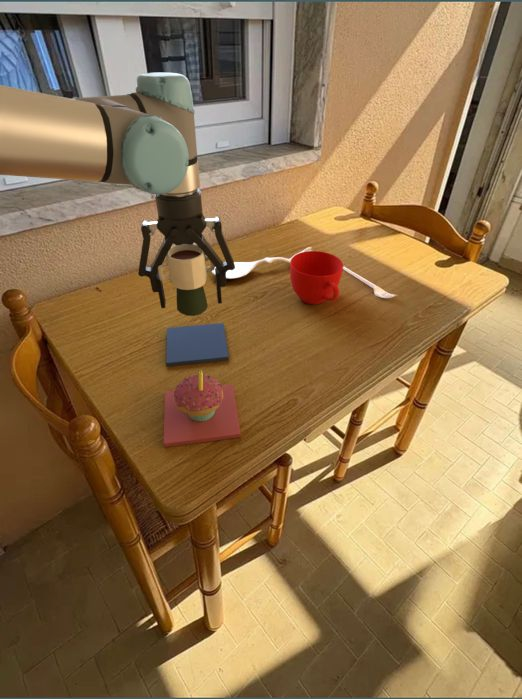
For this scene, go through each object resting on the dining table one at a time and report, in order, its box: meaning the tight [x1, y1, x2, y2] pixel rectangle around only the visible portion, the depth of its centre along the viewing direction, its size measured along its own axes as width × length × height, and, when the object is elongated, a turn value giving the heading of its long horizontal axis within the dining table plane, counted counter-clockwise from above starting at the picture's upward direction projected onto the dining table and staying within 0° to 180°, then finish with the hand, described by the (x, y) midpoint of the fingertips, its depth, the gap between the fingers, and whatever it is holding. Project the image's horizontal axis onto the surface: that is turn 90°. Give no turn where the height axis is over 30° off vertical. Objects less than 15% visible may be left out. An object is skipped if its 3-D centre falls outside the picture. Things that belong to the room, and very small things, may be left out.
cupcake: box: [173, 369, 223, 421], centre depth 65 cm, size 9×8×12 cm
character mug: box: [158, 243, 215, 317], centre depth 74 cm, size 11×7×13 cm, turn 115°
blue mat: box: [165, 322, 230, 367], centre depth 84 cm, size 13×12×1 cm
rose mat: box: [163, 383, 242, 448], centre depth 69 cm, size 13×12×1 cm
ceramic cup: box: [289, 250, 344, 305], centre depth 95 cm, size 13×17×10 cm
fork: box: [343, 266, 397, 299], centre depth 104 cm, size 3×20×2 cm, turn 31°
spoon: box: [210, 246, 314, 280], centre depth 109 cm, size 9×32×4 cm, turn 108°
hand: (191, 302), depth 77 cm, fingers closed on character mug, 10 cm apart
